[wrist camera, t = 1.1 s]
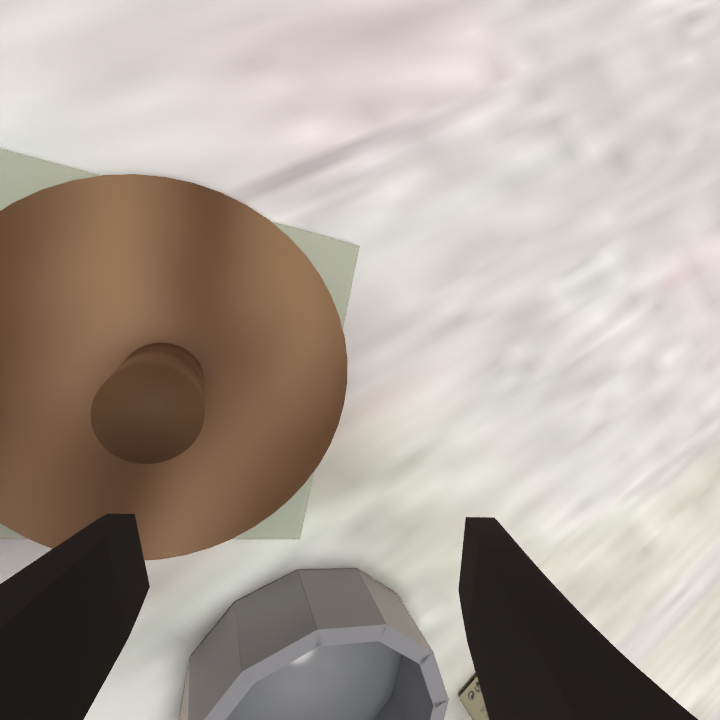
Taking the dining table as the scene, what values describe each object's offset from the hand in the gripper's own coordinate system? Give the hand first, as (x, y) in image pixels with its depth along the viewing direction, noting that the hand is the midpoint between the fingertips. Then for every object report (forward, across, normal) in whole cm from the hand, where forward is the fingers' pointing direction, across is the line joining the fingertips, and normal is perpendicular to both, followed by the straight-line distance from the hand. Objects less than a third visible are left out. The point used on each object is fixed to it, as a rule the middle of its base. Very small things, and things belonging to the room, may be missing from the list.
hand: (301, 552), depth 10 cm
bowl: (+9, +2, +16) cm, 18 cm away
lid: (+9, +7, -1) cm, 11 cm away
